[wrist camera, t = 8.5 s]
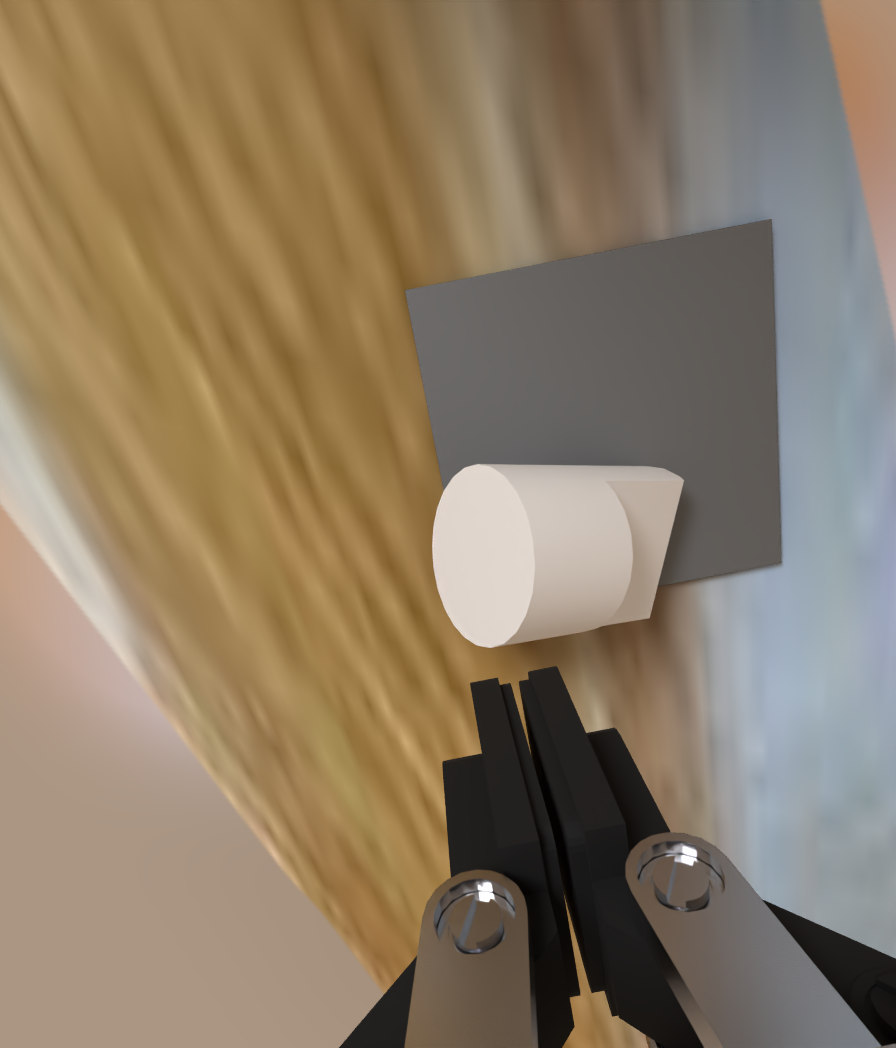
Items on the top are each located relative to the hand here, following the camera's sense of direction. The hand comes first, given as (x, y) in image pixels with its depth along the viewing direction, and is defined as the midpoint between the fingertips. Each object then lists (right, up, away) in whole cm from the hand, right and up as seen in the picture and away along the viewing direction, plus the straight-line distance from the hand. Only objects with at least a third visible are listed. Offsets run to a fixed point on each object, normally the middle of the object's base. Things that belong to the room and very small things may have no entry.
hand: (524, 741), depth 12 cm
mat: (+8, +9, +25) cm, 28 cm away
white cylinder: (0, +3, +19) cm, 19 cm away
